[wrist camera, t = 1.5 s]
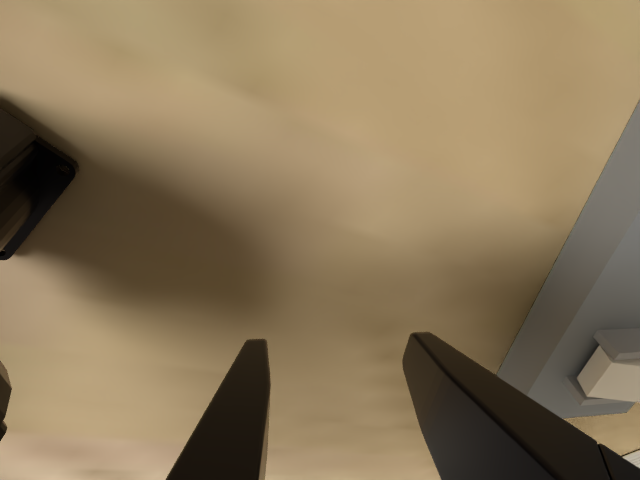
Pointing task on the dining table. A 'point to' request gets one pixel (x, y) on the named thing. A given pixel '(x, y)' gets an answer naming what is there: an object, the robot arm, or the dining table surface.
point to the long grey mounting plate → (587, 295)
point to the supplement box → (633, 458)
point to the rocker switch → (611, 377)
